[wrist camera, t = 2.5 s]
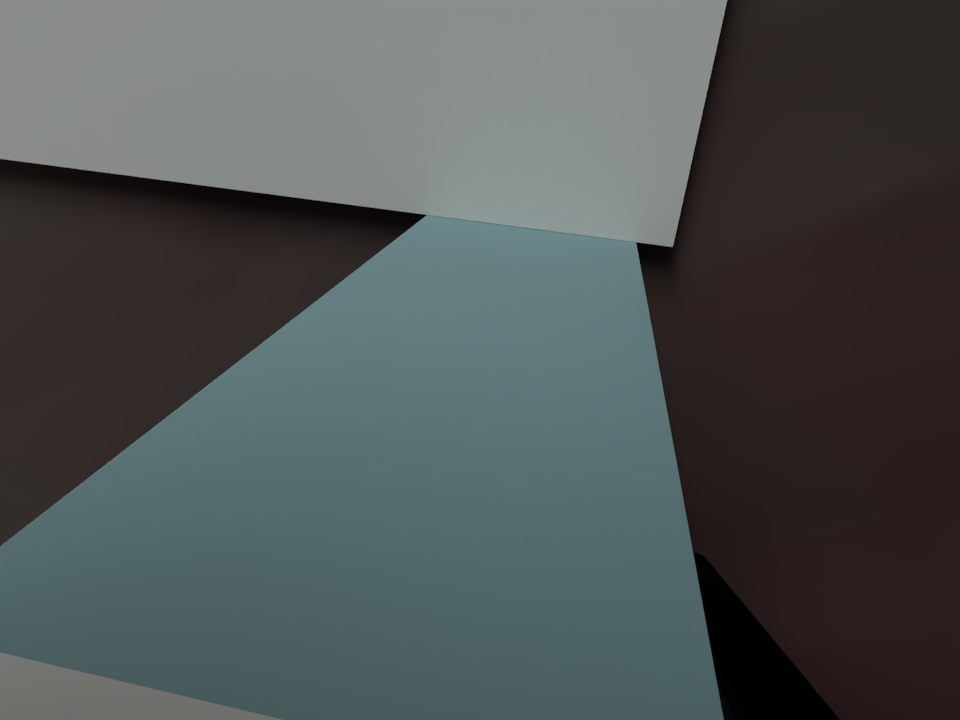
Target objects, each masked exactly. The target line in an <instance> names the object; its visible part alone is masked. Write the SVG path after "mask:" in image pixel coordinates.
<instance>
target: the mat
mask: <svg viewBox="0 0 960 720" xmlns="http://www.w3.org/2000/svg"><path fill="white" fill-rule="evenodd" d="M726 4H727V0H0V159H5V160H13V161H20V162H28V163H36V164H43V165H51V166H59V167H66V168H74V169H81V170H89V171H97V172H104V173H112V174H119V175H127V176H135V177H142V178H150V179H158V180H165V181H173V182H180V183H188V184H196V185H203V186H211V187H219V188H226V189H234V190H241V191H249V192H257V193H264V194H272V195H279V196H287V197H295V198H302V199H310V200H318V201H325V202H333V203H340V204H348V205H356V206H363V207H371V208H379V209H386V210H394V211H401V212H409V213H417V214H424V215H432V216H440V217H447V218H455V219H462V220H470V221H478V222H485V223H493V224H501V225H508V226H516V227H523V228H531V229H539V230H546V231H554V232H561V233H569V234H577V235H584V236H592V237H600V238H607V239H615V240H622V241H630V242H638V243H645V244H653V245H661V246H668V247H673V244H674V240H675V235H676V231H677V226H678V222H679V217H680V213H681V208H682V204H683V199H684V194H685V190H686V185H687V181H688V176H689V172H690V167H691V163H692V158H693V154H694V149H695V145H696V140H697V135H698V131H699V126H700V122H701V117H702V113H703V108H704V104H705V99H706V95H707V90H708V86H709V81H710V76H711V72H712V67H713V63H714V58H715V54H716V49H717V45H718V40H719V36H720V31H721V27H722V22H723V17H724V13H725V8H726Z"/></svg>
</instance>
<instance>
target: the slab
mask: <svg viewBox="0 0 960 720" xmlns="http://www.w3.org/2000/svg"><path fill="white" fill-rule="evenodd" d="M0 720H724V718H723V713H722V707H721V702H720V696H719V691H718V686H717V680H716V675H715V669H714V664H713V658H712V653H711V647H710V642H709V637H708V631H707V626H706V620H705V615H704V609H703V604H702V598H701V593H700V588H699V582H698V577H697V571H696V566H695V560H694V555H693V549H692V544H691V539H690V533H689V528H688V522H687V517H686V511H685V506H684V500H683V495H682V489H681V484H680V479H679V473H678V468H677V462H676V457H675V451H674V446H673V440H672V435H671V430H670V424H669V419H668V413H667V408H666V402H665V397H664V391H663V386H662V381H661V375H660V370H659V364H658V359H657V353H656V348H655V342H654V337H653V332H652V326H651V321H650V315H649V310H648V304H647V299H646V293H645V288H644V283H643V277H642V272H641V266H640V261H639V255H638V250H637V244H636V242H630V241H622V240H615V239H607V238H600V237H592V236H584V235H577V234H569V233H561V232H554V231H546V230H539V229H531V228H523V227H516V226H508V225H501V224H493V223H485V222H478V221H470V220H462V219H455V218H447V217H440V216H432V215H426V216H425V217H424V218H423V219H421V220H420V221H419V222H417V223H416V224H415V225H414V226H412V227H411V228H410V229H408V230H407V231H406V232H405V233H403V234H402V235H401V236H399V237H398V238H397V239H396V240H394V241H393V242H392V243H390V244H389V245H388V246H386V247H385V248H384V249H383V250H381V251H380V252H379V253H377V254H376V255H375V256H374V257H372V258H371V259H370V260H368V261H367V262H366V263H365V264H363V265H362V266H361V267H359V268H358V269H357V270H356V271H354V272H353V273H352V274H350V275H349V276H348V277H347V278H345V279H344V280H343V281H341V282H340V283H339V284H338V285H336V286H335V287H334V288H332V289H331V290H330V291H329V292H327V293H326V294H325V295H323V296H322V297H321V298H320V299H318V300H317V301H316V302H314V303H313V304H312V305H310V306H309V307H308V308H307V309H305V310H304V311H303V312H301V313H300V314H299V315H298V316H296V317H295V318H294V319H292V320H291V321H290V322H289V323H287V324H286V325H285V326H283V327H282V328H281V329H280V330H278V331H277V332H276V333H274V334H273V335H272V336H271V337H269V338H268V339H267V340H265V341H264V342H263V343H262V344H260V345H259V346H258V347H256V348H255V349H254V350H253V351H251V352H250V353H249V354H247V355H246V356H245V357H244V358H242V359H241V360H240V361H238V362H237V363H236V364H235V365H233V366H232V367H231V368H229V369H228V370H227V371H225V372H224V373H223V374H222V375H220V376H219V377H218V378H216V379H215V380H214V381H213V382H211V383H210V384H209V385H207V386H206V387H205V388H204V389H202V390H201V391H200V392H198V393H197V394H196V395H195V396H193V397H192V398H191V399H189V400H188V401H187V402H186V403H184V404H183V405H182V406H180V407H179V408H178V409H177V410H175V411H174V412H173V413H171V414H170V415H169V416H168V417H166V418H165V419H164V420H162V421H161V422H160V423H159V424H157V425H156V426H155V427H153V428H152V429H151V430H149V431H148V432H147V433H146V434H144V435H143V436H142V437H140V438H139V439H138V440H137V441H135V442H134V443H133V444H131V445H130V446H129V447H128V448H126V449H125V450H124V451H122V452H121V453H120V454H119V455H117V456H116V457H115V458H113V459H112V460H111V461H110V462H108V463H107V464H106V465H104V466H103V467H102V468H101V469H99V470H98V471H97V472H95V473H94V474H93V475H92V476H90V477H89V478H88V479H86V480H85V481H84V482H83V483H81V484H80V485H79V486H77V487H76V488H75V489H74V490H72V491H71V492H70V493H68V494H67V495H66V496H64V497H63V498H62V499H61V500H59V501H58V502H57V503H55V504H54V505H53V506H52V507H50V508H49V509H48V510H46V511H45V512H44V513H43V514H41V515H40V516H39V517H37V518H36V519H35V520H34V521H32V522H31V523H30V524H28V525H27V526H26V527H25V528H23V529H22V530H21V531H19V532H18V533H17V534H16V535H14V536H13V537H12V538H10V539H9V540H8V541H7V542H5V543H4V544H3V545H1V546H0Z"/></svg>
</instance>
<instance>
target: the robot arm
mask: <svg viewBox="0 0 960 720" xmlns="http://www.w3.org/2000/svg"><path fill="white" fill-rule="evenodd" d="M693 555H694V560H695V566H696V571H697V577H698V582H699V588H700V593H701V598H702V604H703V609H704V615H705V620H706V626H707V631H708V637H709V642H710V647H711V653H712V658H713V664H714V669H715V675H716V680H717V686H718V691H719V696H720V702H721V707H722V713H723V718H724V720H840V719H839V718H838V717H837V716H836V714H835V713H834V712H833V711H832V710H831V708H830V707H829V706H828V705H827V704H826V702H825V701H824V700H823V699H822V698H821V696H820V695H819V694H818V693H817V692H816V690H815V689H814V688H813V687H812V686H811V684H810V683H809V682H808V681H807V679H806V678H805V677H804V676H803V675H802V673H801V672H800V671H799V670H798V669H797V667H796V666H795V665H794V664H793V663H792V661H791V660H790V659H789V658H788V657H787V655H786V654H785V653H784V652H783V651H782V649H781V648H780V647H779V646H778V645H777V643H776V642H775V641H774V640H773V639H772V637H771V636H770V635H769V634H768V633H767V631H766V630H765V629H764V628H763V627H762V625H761V624H760V623H759V622H758V620H757V619H756V618H755V617H754V616H753V614H752V613H751V612H750V611H749V610H748V608H747V607H746V606H745V605H744V604H743V602H742V601H741V600H740V599H739V598H738V596H737V595H736V594H735V593H734V592H733V590H732V589H731V588H730V587H729V586H728V584H727V583H726V582H725V581H724V580H723V578H722V577H721V576H720V575H719V574H718V572H717V571H716V570H715V569H714V568H713V566H712V565H711V564H710V563H709V561H708V560H707V559H706V558H705V557H704V556H703V555H701V554H698V553H693Z"/></svg>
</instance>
